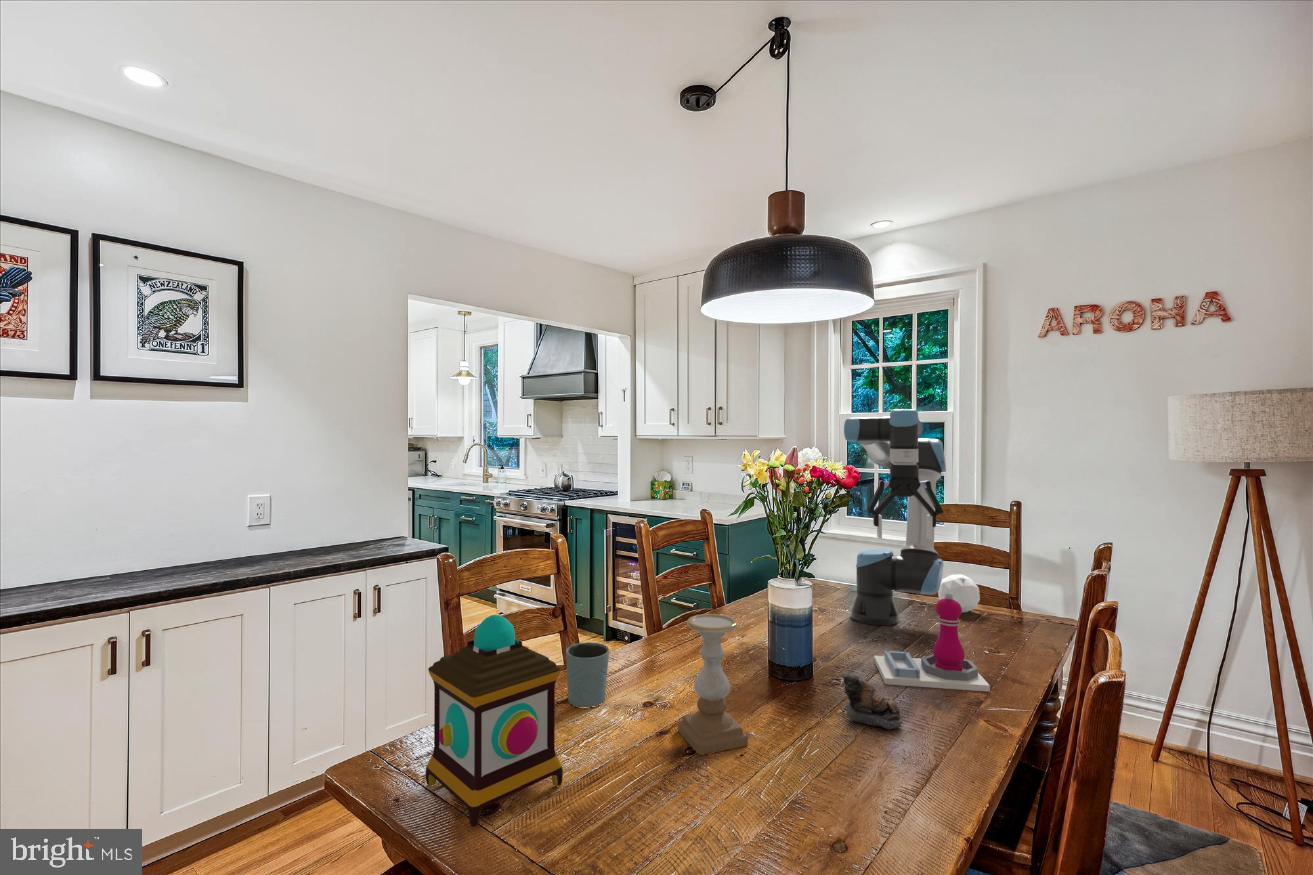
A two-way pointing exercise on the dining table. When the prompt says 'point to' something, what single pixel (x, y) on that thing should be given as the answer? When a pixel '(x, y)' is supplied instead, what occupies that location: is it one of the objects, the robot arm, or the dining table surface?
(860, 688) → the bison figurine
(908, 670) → the holder board
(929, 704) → the dining table surface
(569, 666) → the blue grey cup
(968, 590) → the geodesic sphere
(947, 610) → the pepper mill
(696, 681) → the candle holder
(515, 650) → the decorative lantern
